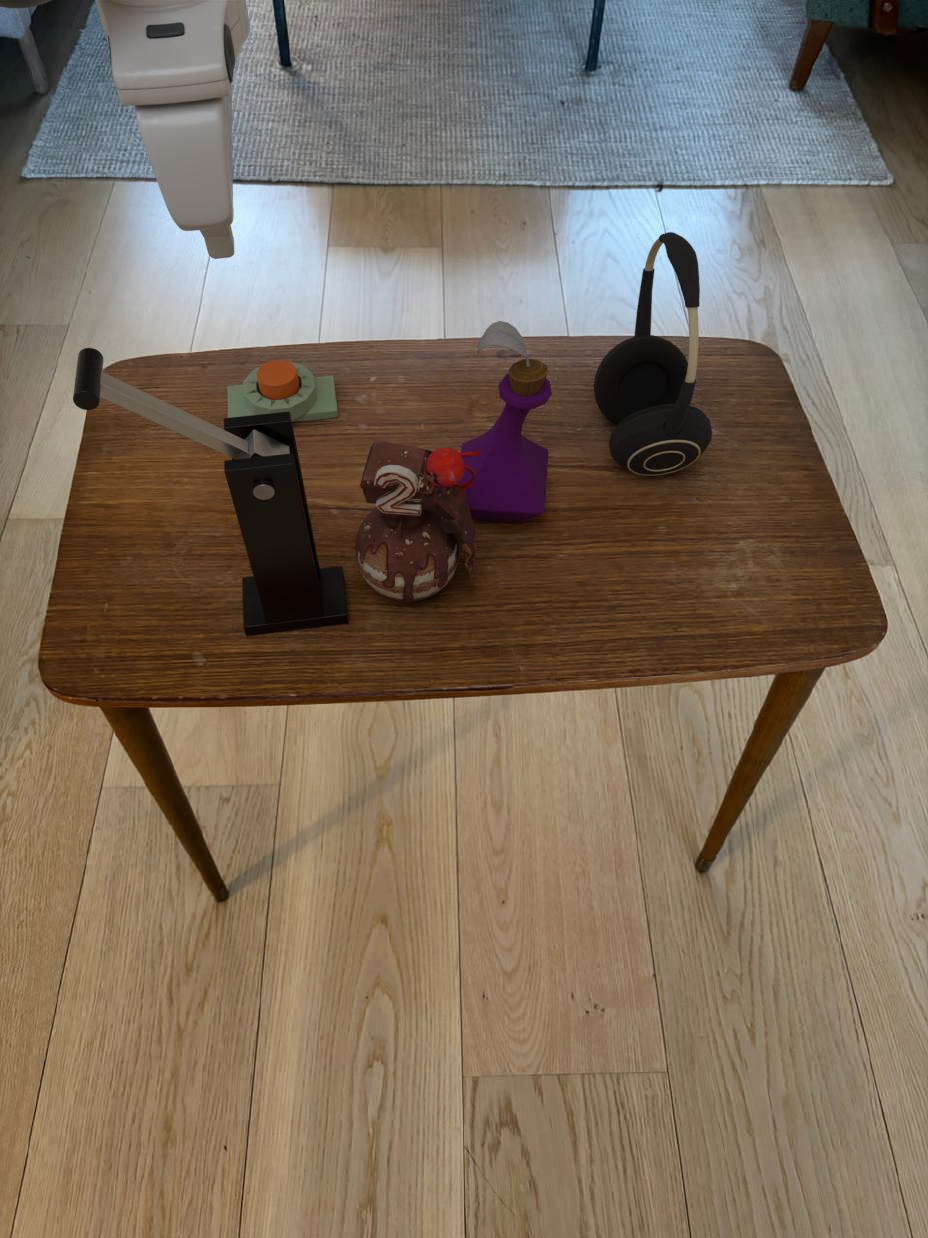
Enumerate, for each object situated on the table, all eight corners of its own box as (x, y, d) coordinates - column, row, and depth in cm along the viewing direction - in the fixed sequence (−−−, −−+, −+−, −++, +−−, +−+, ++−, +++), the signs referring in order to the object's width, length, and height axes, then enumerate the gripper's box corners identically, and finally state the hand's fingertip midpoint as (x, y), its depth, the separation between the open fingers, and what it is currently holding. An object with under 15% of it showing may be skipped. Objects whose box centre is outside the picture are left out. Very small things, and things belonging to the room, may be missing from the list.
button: (260, 402, 89) (257, 387, 88) (259, 376, 92) (256, 361, 90) (300, 398, 90) (297, 383, 88) (298, 372, 92) (295, 357, 90)
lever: (64, 408, 57) (83, 381, 56) (70, 364, 60) (88, 337, 58) (271, 500, 66) (291, 479, 65) (269, 458, 68) (289, 436, 67)
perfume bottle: (546, 475, 87) (562, 302, 72) (541, 540, 83) (557, 369, 68) (461, 470, 87) (460, 296, 73) (453, 533, 83) (449, 362, 68)
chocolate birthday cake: (482, 549, 82) (484, 412, 70) (468, 628, 77) (469, 495, 65) (370, 537, 83) (353, 400, 71) (350, 615, 78) (329, 481, 66)
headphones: (671, 388, 94) (713, 189, 78) (711, 502, 85) (768, 305, 69) (582, 395, 93) (606, 197, 77) (613, 510, 84) (647, 314, 68)
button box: (229, 434, 90) (224, 414, 88) (228, 387, 94) (223, 366, 92) (339, 423, 91) (336, 402, 89) (333, 377, 95) (331, 356, 93)
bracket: (246, 641, 76) (195, 479, 62) (244, 581, 80) (196, 415, 66) (349, 628, 77) (322, 466, 63) (343, 569, 81) (316, 403, 66)
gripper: (130, -58, 66) (182, 143, 77) (110, 92, 54) (175, 304, 66) (224, -65, 67) (262, 136, 78) (225, 81, 55) (270, 294, 66)
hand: (222, 214), depth 72 cm, fingers open, 8 cm apart
